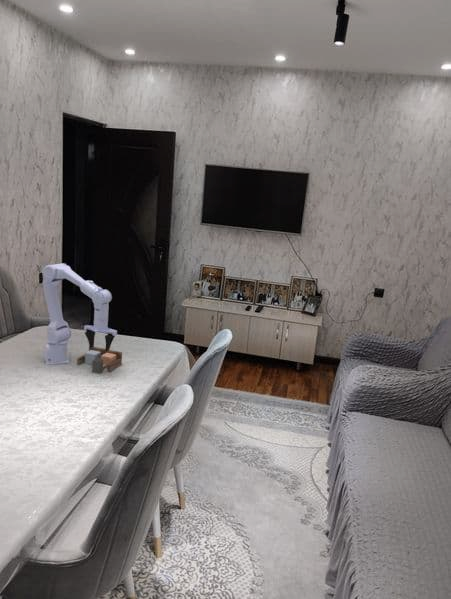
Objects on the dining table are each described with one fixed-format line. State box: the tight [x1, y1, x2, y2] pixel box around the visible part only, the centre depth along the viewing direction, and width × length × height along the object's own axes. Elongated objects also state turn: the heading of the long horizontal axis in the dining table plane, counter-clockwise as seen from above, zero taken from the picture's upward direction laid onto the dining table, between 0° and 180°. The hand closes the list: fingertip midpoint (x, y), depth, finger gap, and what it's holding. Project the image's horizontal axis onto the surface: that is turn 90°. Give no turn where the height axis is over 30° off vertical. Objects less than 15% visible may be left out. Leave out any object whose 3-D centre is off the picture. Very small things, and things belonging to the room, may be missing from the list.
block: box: [84, 350, 101, 366], centre depth 210 cm, size 5×5×5 cm
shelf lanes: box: [76, 345, 123, 373], centre depth 209 cm, size 17×10×6 cm, turn 73°
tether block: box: [91, 353, 116, 375], centre depth 205 cm, size 5×13×6 cm, turn 163°
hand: (99, 348), depth 199 cm, fingers open, 7 cm apart
